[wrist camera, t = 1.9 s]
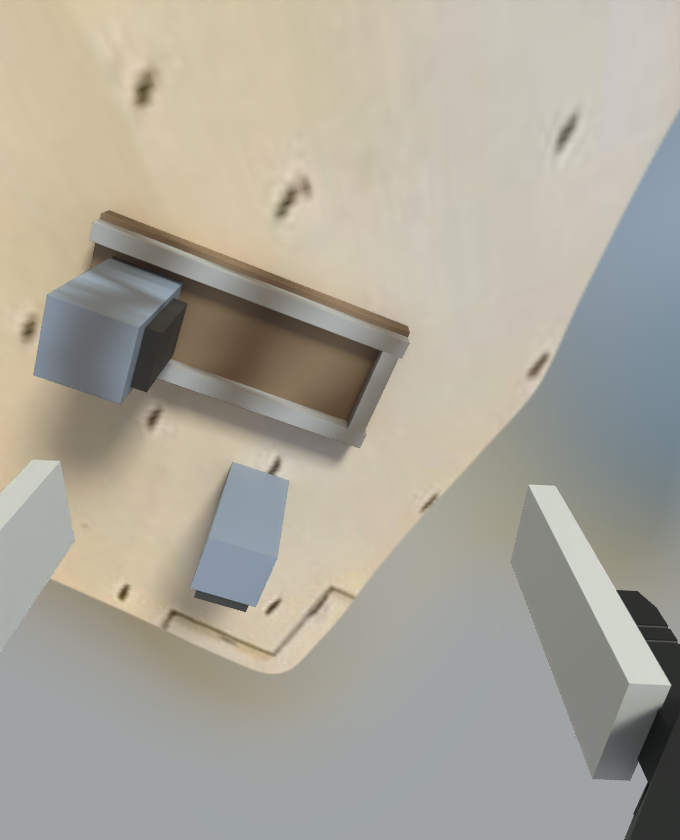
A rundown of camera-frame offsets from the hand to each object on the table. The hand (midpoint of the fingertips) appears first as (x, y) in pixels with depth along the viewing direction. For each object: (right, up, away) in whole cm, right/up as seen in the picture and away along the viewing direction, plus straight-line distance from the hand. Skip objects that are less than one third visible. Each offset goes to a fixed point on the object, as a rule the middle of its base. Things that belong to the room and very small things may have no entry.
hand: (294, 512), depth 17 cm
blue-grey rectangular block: (-5, -3, +24) cm, 25 cm away
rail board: (-4, +8, +19) cm, 21 cm away
